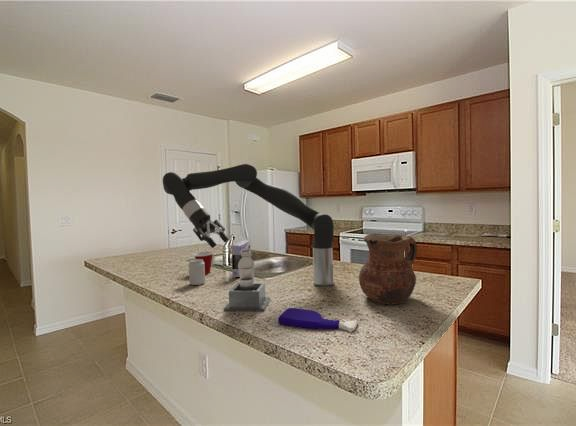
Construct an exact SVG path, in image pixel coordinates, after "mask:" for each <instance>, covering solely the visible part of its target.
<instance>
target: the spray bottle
mask: <svg viewBox="0 0 576 426" xmlns="http://www.w3.org/2000/svg"><path fill="white" fill-rule="evenodd" d="M277 321H278V322H277V323H278V324H279V325H282V326H285V327H286V326H287V327H291V328H298V329H305V330H339V329H340V330H344V331H347V332H349V333H352V332H354V331H355V330H356V328H357V326H358V322H359V321H358V319H355V320H350V321H349V320H346V319H342V318H341V321H340V320H339V319H336V320H334V319H329V318H328V319H327V318H324V317H323V316H322V315H321V313H319V312H318V311H315V310H313V309H312V310H311V309H304V308H299V307H298V308H297V307H295V308H294V307H288V308H286V309H285V310H284V311H283V312H281V314H280V315H279V316H278V318H277Z"/></svg>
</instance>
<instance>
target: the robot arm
mask: <svg viewBox="0 0 576 426" xmlns="http://www.w3.org/2000/svg"><path fill="white" fill-rule="evenodd" d="M257 176H258V171H257V169H256V167H255V166H254V165H252V164H249V163H242V164H238V165H235V166H231V167H226V168H222V169H215V170H211V171H202V172H201V171H200V172H199V171H198V172H191V173H188V174H186V176H185V177H183V178H182V177H181V176H180V175H179V174H178V173H175V172H172V171H170V172H166V173H165V174H164V175H163V177H162V186H163V190H164V192H165V193H166V194H168V195H171V196H173V197H174V198H173V199H174V200H175V203H176V205H177V206H178V207H179V208H180V209H181V210H182V212H183V214H184V215H185V217H186V218H187V220H189V221H190V222H191V224H192V226H194V227H193V229H192V232H194V234H195V235H196V237H197V238H198V239H199V240H200V241H201V242H203V241H204V242H207V244H208V245H209V246H210V247H211V248H212V249H214V248H215V247H216V246H217V243H216V242H215V241H214V240H213V238H212V237H211V234H215V235H218V236H219V237H220V239H221V240H222V241H223V242H224V243H227V242H228V241H229V237H228V236H227V235H226V234H225V233H224V232H225V231H226V228H225V227H224V226H223V225H222V224H221V223H220V221H219V220H218V219H215V220H214V221H213V220H211V214H210V213H209V212H208V211H207V209H205V207H204V206H203V205H202V204H201V203H200V202H199V201H198V200H197V199H196V198H195V196H194V195H193V194H192V193H191V192H190V191H194V190H202V189H207V188H208V189H209V188H213V187H216V186H220V185H222V184H225V183H231V182H235V184H236V185H237V186H238V187H240V188H242V189H244V190H246V191H248V192H250V193H252V194H254V195H257V196H258V197H259V198H261V199H263V200H265V201H266V202H267V203H269V204H271V205H273V207H275V208H277V209H279V210H280V211H282V212H283V213H286V214H287V215H289V216H291V217H294V218H297V219H299V220H300V221H302V222H304V223H305V224H306V225H307V226H308V227H310V228H311V229H312V230H313V232H314V233H313V237H314V238H313V241H312V260H313V261H312V262H313V265H312V266H313V270H312V271H313V284H314V285H317V286H322V287H323V286H325V287H326V286H330V285H331V286H332V285H334V263H333V259H334V257H333V243H334V239H335V238H334V237H335V236H334V234H335V233H334V232H335V231H334V230H335V229H334V221H333V218H332V217H331V216H330V215H328V214H326V213H321V212H318V211H316V210H314V209H313V208H311V207H309V206H307V205H306V204H305V203H304V202H303V201H302V200H301V199H299V197H297V196H296V195H294V194H293V193H292V192H291V191H289V190H287V189H285V188H283V187H280V186H277V185H273V184H271V183H270V184H269V183H266V182H265V181H263V180H261V179H260V178H258V177H257Z"/></svg>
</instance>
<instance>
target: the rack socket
mask: <svg viewBox="0 0 576 426" xmlns="http://www.w3.org/2000/svg"><path fill="white" fill-rule="evenodd" d="M254 288H255V291H240V282H237V283H236V284H235V285H234V286H232V287H231V289H230V290H229V291H228V303H227V304H226V305H225V306H224V307H223V311H224V312H265V310H266V308H267V306H268V304H269V302H270V301H271V297H270V296H266V283H265V282H254Z"/></svg>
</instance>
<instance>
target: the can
mask: <svg viewBox="0 0 576 426" xmlns="http://www.w3.org/2000/svg"><path fill="white" fill-rule="evenodd" d="M188 274H189V279H188V280H189V285H191V286H193V285H198V286H202V285H204V283H206V275H205V263H204V262H203V260H202V259H196V258H195V259H190V260H189V263H188ZM201 284H202V285H201Z"/></svg>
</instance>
